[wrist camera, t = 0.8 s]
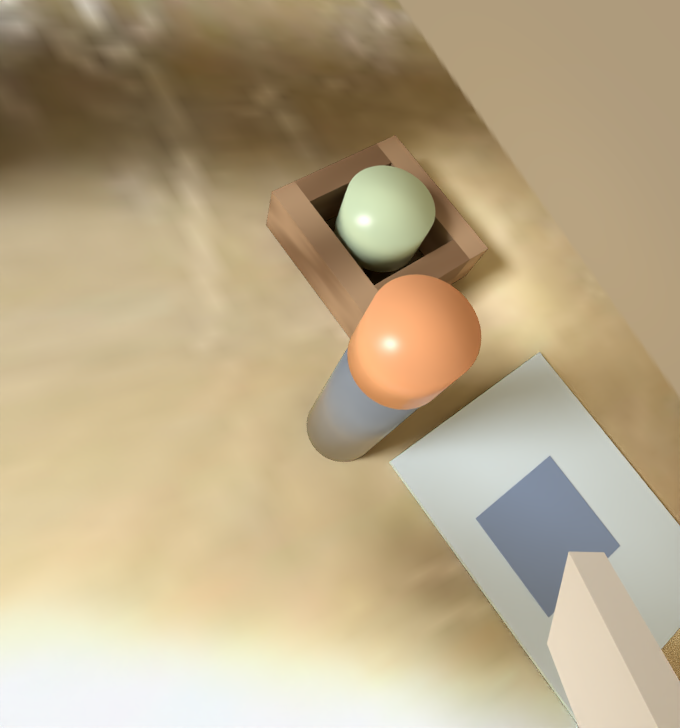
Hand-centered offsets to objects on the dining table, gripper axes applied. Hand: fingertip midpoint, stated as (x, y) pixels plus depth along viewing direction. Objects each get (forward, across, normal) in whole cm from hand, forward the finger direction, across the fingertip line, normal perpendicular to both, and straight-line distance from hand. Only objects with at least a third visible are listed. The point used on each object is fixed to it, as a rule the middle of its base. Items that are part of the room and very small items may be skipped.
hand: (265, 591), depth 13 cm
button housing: (+26, +3, +2) cm, 26 cm away
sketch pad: (+16, +14, -11) cm, 24 cm away
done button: (+25, +4, +3) cm, 25 cm away
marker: (+18, +2, -6) cm, 19 cm away
